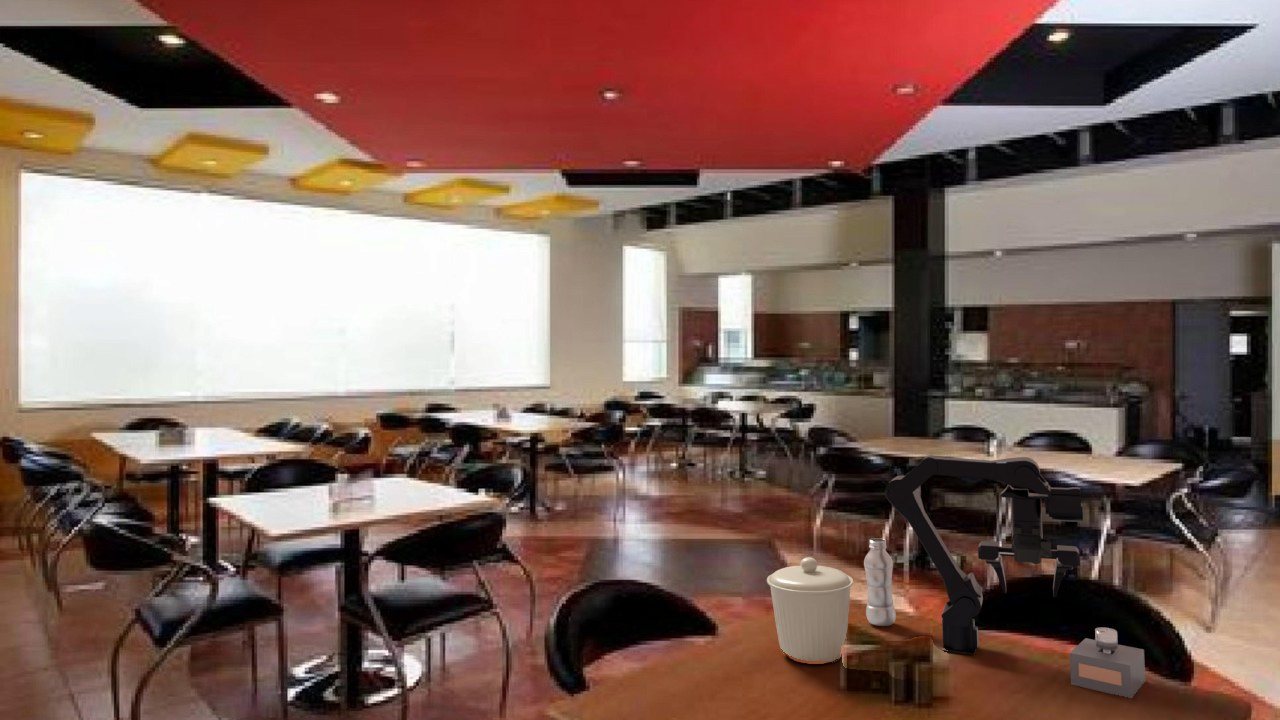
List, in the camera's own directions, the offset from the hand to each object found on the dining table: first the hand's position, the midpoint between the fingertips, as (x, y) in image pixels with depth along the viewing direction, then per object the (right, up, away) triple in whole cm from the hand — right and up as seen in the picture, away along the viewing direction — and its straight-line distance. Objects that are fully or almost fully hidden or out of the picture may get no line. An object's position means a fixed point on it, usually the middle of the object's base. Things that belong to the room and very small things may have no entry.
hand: (1029, 594), depth 165 cm
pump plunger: (+8, -12, -14) cm, 20 cm away
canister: (-44, -15, +5) cm, 47 cm away
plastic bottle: (-24, -14, +23) cm, 36 cm away
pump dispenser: (+8, -13, -14) cm, 20 cm away
